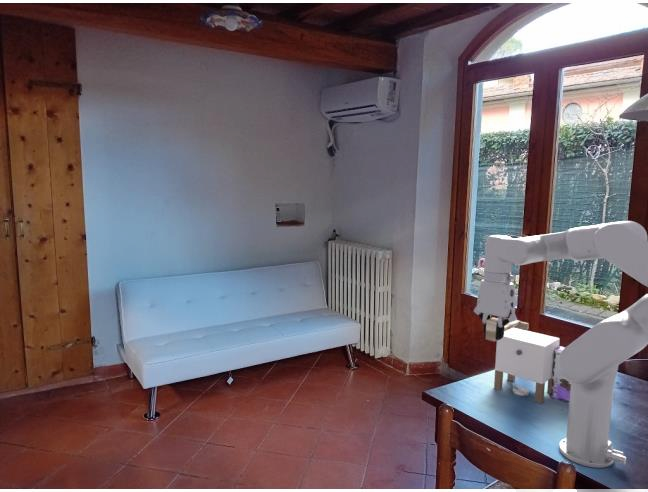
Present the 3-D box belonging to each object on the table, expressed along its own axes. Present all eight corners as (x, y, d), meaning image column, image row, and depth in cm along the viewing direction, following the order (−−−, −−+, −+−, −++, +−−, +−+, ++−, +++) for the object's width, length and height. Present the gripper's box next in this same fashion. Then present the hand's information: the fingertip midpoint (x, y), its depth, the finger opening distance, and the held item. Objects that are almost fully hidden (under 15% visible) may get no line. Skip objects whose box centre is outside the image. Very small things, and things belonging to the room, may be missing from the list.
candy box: (550, 397, 159) (553, 349, 157) (556, 391, 164) (559, 345, 161) (596, 411, 150) (601, 360, 148) (601, 405, 154) (606, 355, 152)
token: (531, 393, 163) (531, 390, 163) (524, 398, 159) (525, 394, 159) (516, 389, 166) (516, 385, 166) (510, 393, 163) (510, 390, 163)
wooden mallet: (499, 343, 141) (501, 323, 140) (480, 338, 145) (481, 318, 144) (528, 329, 154) (529, 311, 154) (510, 325, 159) (511, 307, 158)
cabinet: (555, 392, 163) (559, 338, 161) (539, 404, 154) (544, 347, 152) (509, 378, 175) (513, 327, 172) (492, 388, 166) (495, 335, 163)
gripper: (530, 279, 138) (525, 341, 141) (477, 271, 150) (474, 328, 153) (518, 283, 133) (514, 347, 136) (465, 274, 145) (462, 333, 148)
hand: (493, 336), depth 144 cm, fingers closed on wooden mallet, 3 cm apart
